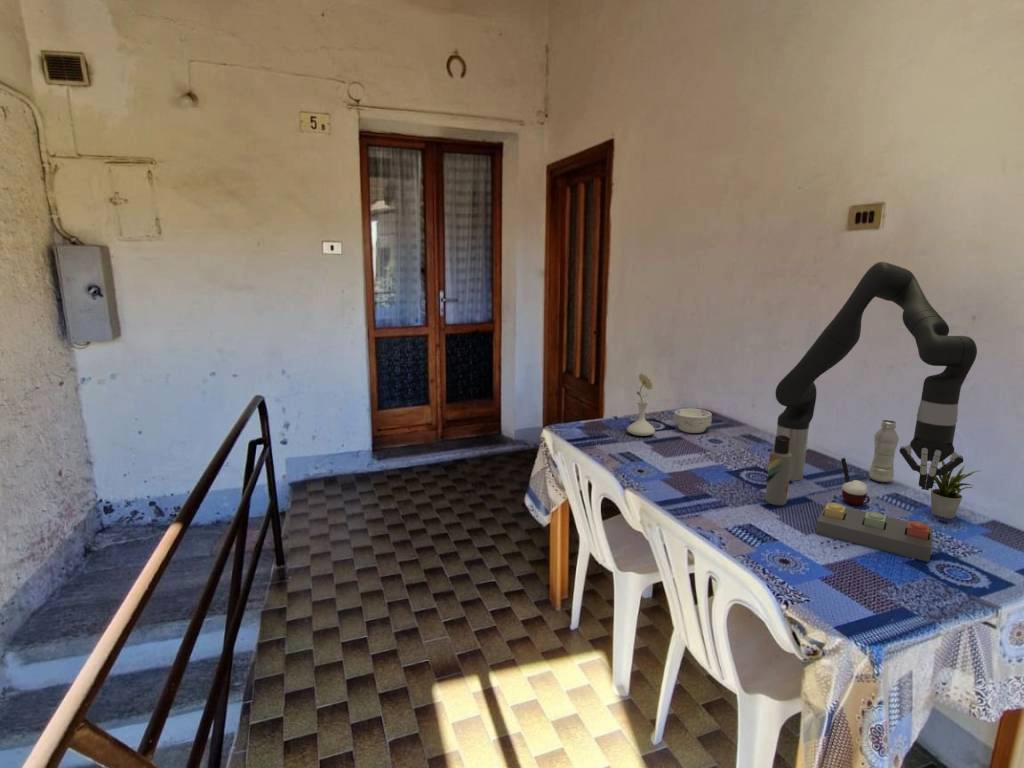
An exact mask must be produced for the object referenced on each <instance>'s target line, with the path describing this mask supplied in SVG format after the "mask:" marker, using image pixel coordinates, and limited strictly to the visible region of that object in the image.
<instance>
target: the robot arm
mask: <svg viewBox="0 0 1024 768" xmlns="http://www.w3.org/2000/svg"><path fill="white" fill-rule="evenodd" d="M874 298H878V299H882V300H883V301H884V300H885V301H887V302H893V303H894V304H896V305H897V306H898V307H900V308H901V309H902V310H903V311H902V315H901V316H902V321H903V324H904V326H905V328H906V329H907V330H908V332H909V333H910V334H911V335H912V336H913V338H914V340H915V344H916V348H917V350H918V356H919V358H920V360H921V361H922V362H923V363H925V364H926V365H929V366H932V367H945V369H943V371H942V372H941V373H938V374H933V375H929V376H926V378H924V380H923V385H922V392H921V398H920V402H919V405H918V410H917V414H916V422H915V428H914V434H913V438H912V439H911V441H910V444H907V445H905V446H904V445H903V446H900V448H899V451H898V452H899V453H900V454H901V456H902V458H904V461H906V463H907V464H908V466H909V467H910V469H911V470H912V471H915V472H917V473H919V478H918V487H920V488H921V490H924V491H927V492H929V490H932V489H933V488H934V485H935V483H934V482H935V480H934V478H935V476H936V477H937V476H938V475H941V476H943V475H945V474H946V473H949V472H950V471H951V470H952V469H953V470H954V469H955V468H957V467H959V465H961V464H962V463H964V456H963V455H961V454H960V455H959V453H957V452H956V451H955V447H954V437H955V434H956V427H957V423H958V415H959V401H960V394H961V389H962V386H963V384H964V382H965V381H966V379H967V376H968V374H969V372H970V371H971V370H972V369H971V368H972V367H973V365H974V362H975V360H976V358H977V354H978V347H977V344H976V342H975V340H973V338H971V337H970V336H967V335H949V333H950V327H949V325H948V323H947V321H945V320H944V318H943V317H942V316H941V315H940V314H939V313H938V311H937V310H935V308H934V307H933V306H932V305H931V304H930V302H929V300H928V299H927V297H926V296H925V294H924V291H923V290H922V288H921V286H920V284H919V282H918V280H917V277H915V275H914V273H912V271H911V270H909V269H907V268H905V267H902V266H899V265H896V264H892V263H889V262H887V261H878V262H876V263H875V264H873V265H872V266H871V267H869V268H868V270H866V272H865V273H864V274H863V276H862V277H861V279H860V281H858V283H857V285H856V287H855V288H854V290H853V291H852V293H851V294H850V296H849V298H847V300H846V301H845V303H844V305H843V306H842V307H841V308H840V309H839V311H838V312H837V313H836V315H835V316H834V318H833V319H832V320H831V321H830V322H829V324H828V325H827V326H826V327H825V329H823V331H822V332H821V333H820V334H819V336H818V337H817V338H816V340H815V341H814V342H813V344H812V345H811V346H810V348H809V349H807V351H806V353H805V354H804V355H803V356H802V358H801V359H800V360H799V362H797V364H796V365H795V366H794V367H792V370H790V371H789V372H787V374H786V375H785V376H784V377H783V378H782V379H781V380H780V381H779V382H778V384H777V386H776V388H775V393H774V394H775V399H776V400H777V402H778V403H779V405H780V406H784V407H785V409H784V410H783V411H782V413H780V414H779V415H778V417H777V424H776V434H775V435H776V436H775V437H777V436H779V435H783V436H786V437H788V438H790V445H789V453H791V454H792V459H791V468H790V477H789V481H790V482H791V481H792V482H793V481H795V482H796V481H801V480H803V478H804V473H805V461H806V455H807V446H808V445H807V444H808V436H809V429H810V423H811V421H812V419H813V417H814V412H815V408H816V401H817V387H816V383H814V382H815V381H816V380H817V379H818V378H819V377H820V376H821V375H823V374H825V373H827V372H828V371H829V370H830V369H831V368H833V367H834V366H836V365H837V364H839V362H841V361H842V360H843V359H844V358H845V357H847V355H848V354H849V353H850V352H851V351H852V350H853V348H854V347H855V346H856V345H857V343H858V342H859V341H860V337H861V331H862V319H863V315H864V314H863V313H864V312H865V310H866V309H867V307H868V305H869V304H870V303H871V302H872V301H873V299H874ZM773 450H774V447H773V448H772V451H773ZM913 452H914V453H915V455H916V457H917V458H918V459H919V460H920V464H918V463H917V462H916V460H915V459H914V457H913V456H912V453H913ZM947 458H949V461H948V462H947V463H945V465H944V466H943V465H942V466H941V467H940V468H938V466H939V463H942V461H945V460H946V459H947ZM928 462H930V465H931V466H930V465H929V468H930V469H929V468H928ZM937 468H938V469H937ZM928 469H929V470H928ZM933 484H934V485H933Z"/></svg>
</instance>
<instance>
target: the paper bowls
mask: <svg viewBox="0 0 1024 768" xmlns="http://www.w3.org/2000/svg"><path fill="white" fill-rule="evenodd" d="M712 415H713V414H712V412H710V411H708V410H704V409H700V408H678V409H676V410H674V411H673V423H674V424H675V425H677V427H678V429H679V430H680V431H682V432H685V433H687V434H689V433H690V434H700V433H704V432H705V431H706V429H707V428H709V427H711V426H712V420H713V419H712V417H713V416H712Z"/></svg>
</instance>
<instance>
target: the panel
mask: <svg viewBox="0 0 1024 768" xmlns="http://www.w3.org/2000/svg"><path fill="white" fill-rule="evenodd" d="M828 503H829V502H827V503H825V505H824V507H823V508H822V510H821V512H820V515H819V516H818V519H817V521H816V528H815V534H817V535H821V536H825V537H829V538H833V539H837V540H842V541H845V542H849V543H851V544H856V545H860V546H864V547H867V548H872V549H876V550H879V549H880V551H883V552H887V553H892V554H895V555H898V556H899V555H900V556H903V557H907V556H908V557H907V558H912V559H915V560H919V561H922V562H925V563H926V562H927V563H930V559H931V555H932V550H933V549H932V548H933V534H934V533H933V531H934V527H933V526H930V525H928V526H929V534H928V540H925V539H920V538H916V537H912V536H908V535H907V528H908V522H909V520H908V521H907V520H903V519H899V518H895V517H889V516H886V519H885V526H884V530H882V529H878V528H874V527H870V526H866V525H864V520H865V516H866V513H867V512H868V511H862V510H858V509H854V508H850V507H846V508H845V516H844V519H843V520H840V519H836V518H832V517H828V516H824V514H825V508H826V506H827V504H828Z"/></svg>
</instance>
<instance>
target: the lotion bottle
mask: <svg viewBox="0 0 1024 768" xmlns="http://www.w3.org/2000/svg"><path fill="white" fill-rule="evenodd" d="M773 445H774V446H773V448H774V450H773V449H772V450H771V451H770V452H769V461H768V462H769V463H768V471H767V479H766V480H767V481H766V489H765V490H766V491H765V502H766V503H768V504H770V505H772V506H773V505H774V506H779V507H780V506H785V505H786V504H787V501H788V492H789V484H790V480H789V477H790V468H791V459H792V454H791V453H789V445H790V438H788V437H786V436H783V435H779V436H777V437H776V436H775V438H774V444H773Z"/></svg>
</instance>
